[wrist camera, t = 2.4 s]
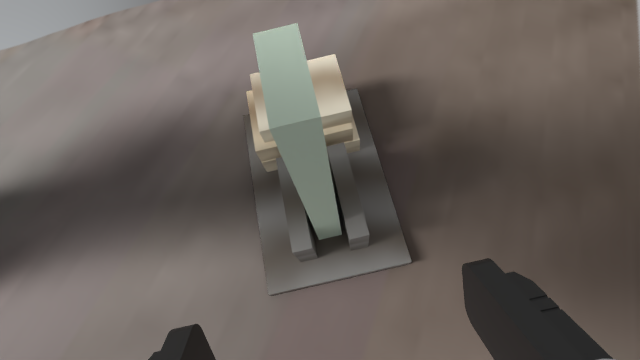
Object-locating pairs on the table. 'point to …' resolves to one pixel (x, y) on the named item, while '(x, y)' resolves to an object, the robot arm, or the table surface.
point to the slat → (297, 123)
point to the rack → (349, 187)
